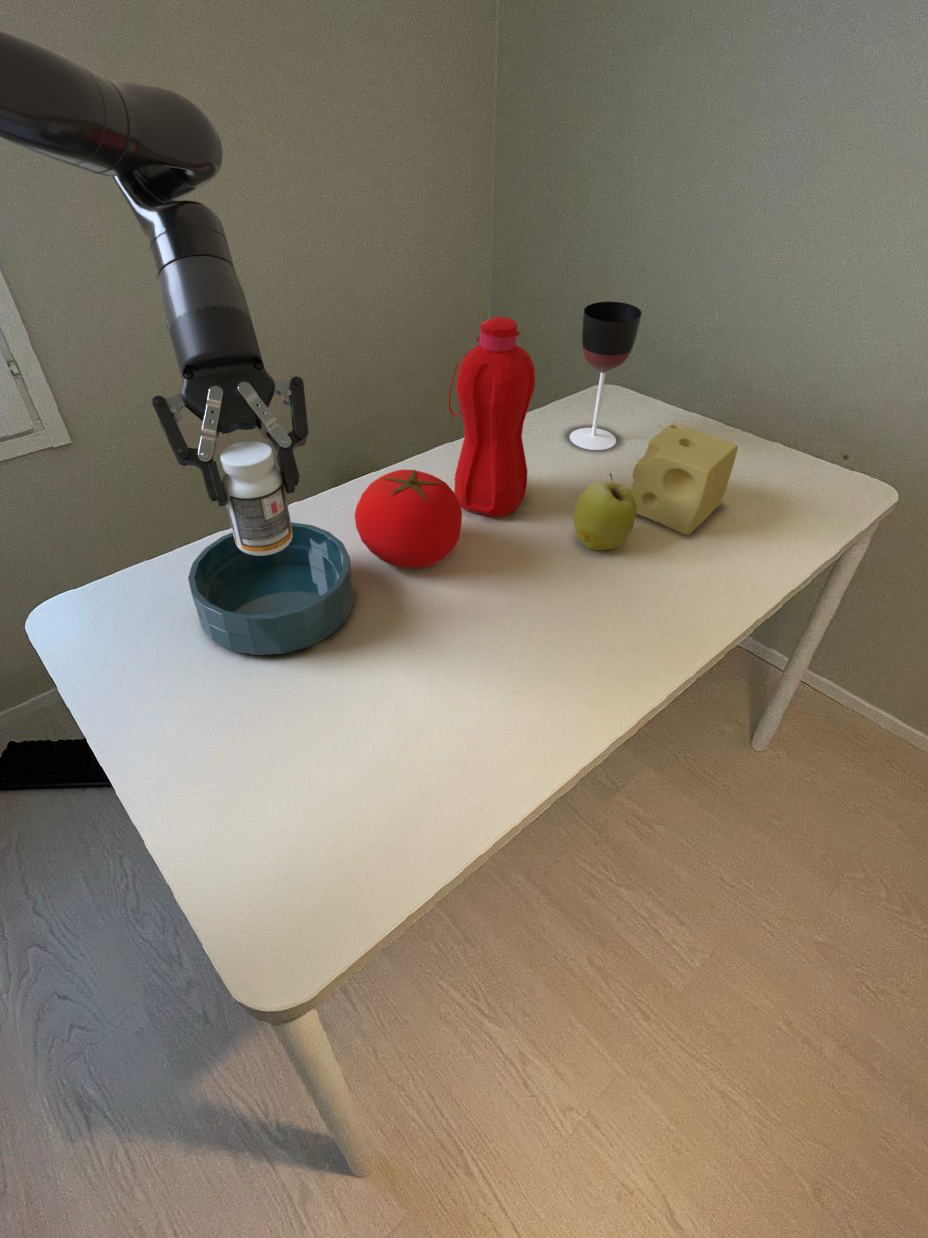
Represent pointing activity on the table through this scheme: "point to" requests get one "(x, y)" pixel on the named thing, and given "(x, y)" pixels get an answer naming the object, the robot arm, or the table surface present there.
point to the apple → (604, 515)
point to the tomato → (409, 518)
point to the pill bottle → (255, 499)
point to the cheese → (682, 477)
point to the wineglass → (605, 357)
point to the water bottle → (493, 420)
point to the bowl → (273, 592)
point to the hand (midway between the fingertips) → (257, 496)
